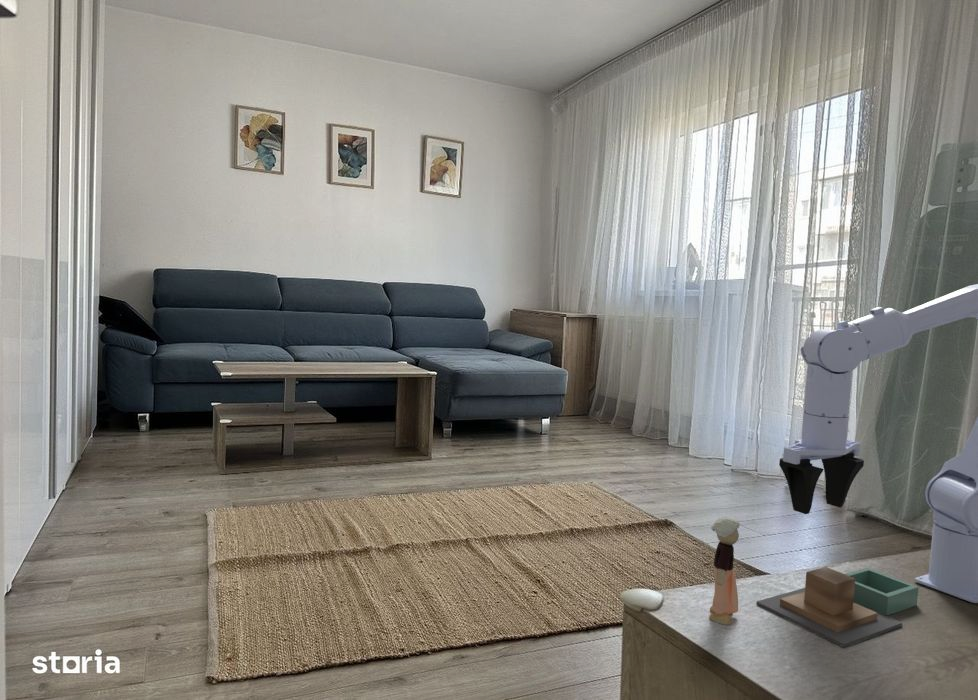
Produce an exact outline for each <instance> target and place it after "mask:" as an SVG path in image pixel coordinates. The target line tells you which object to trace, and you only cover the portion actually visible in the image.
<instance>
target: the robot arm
mask: <svg viewBox="0 0 978 700" xmlns="http://www.w3.org/2000/svg"><path fill="white" fill-rule="evenodd" d="M967 318H976V319H977V320H978V283H977V284H976V283H975V284H972V285H968V286H965V287H963V288H960V289H958V290H955V291H952V292H950V293H947V294H945V295H943V296H939V297H937V298H935V299H932V300H930V301H928V302H925V303H923V304H921V305H917V306H915V307H913V308H910V309H907V310H906V311H903V312H902V311H899V310H897V309H894V308H891V307H887V308H884V307H881V306H877V307H874V308H871V309H869V314H868V315H865V316H863V317H858V318H857V319H854V320H851V321H847V320H841V321H838V322H837V323H836V327H835V329H829V328H823V329H822V328H821V329H817V330H814V331H813V332H811V333H810V334H809V336H807V337H806V339H805V341H804V344H803V346H801V347H800V354H801V358H802V359H803V361H804V363H805V364H806V368H807V369H806V376H805V377H806V379H805V389H804V398H803V399H804V400H803V401H804V402H803V414H802V415H803V417H802V425H801V426H802V428H801V438H800V439H798V438H797V439H795V440H794V444H793V445H790V446H786V447H783V457H780V458H779V463H778V465H779V467H780V469H781V471H782V473H783V475H784V478H785V479H786V483H787V485H788V490H789V494H790V499H791V505H792V509H793V511H795V512H797V513H801V514H803V515H809V514H810V512H811V510H812V506H813V499H814V493H815V489H816V487H817V484H818V481H819V479H820V476H821V475H822V473H823V472H824V477H825V478H824V479H825V501H826V504H827V505H829V506H833V507H837V508H843V506H844V504H845V502H846V498H847V495H848V493H849V491H850V488H851V486H852V483H853V482H854V480H855V478H856V477H857V475H858V474H859V472H860V471H861V470H862V469H863V467H864V465H865V463H864V462H865V460H864V459H861V458H859V456H860V451H861V442H858V441H853V440H849V439H848V429H849V415H850V406H851V405H850V403H851V393H852V392H851V391H852V380H853V379H852V378H853V371H854V370H855V369H856V368H858V367H859V366H860V365H861V362H864V361H867V360H870V359H872V358H876V357H878V356H881V355H884V354H887V353H890V352H892V351H895V350H898V349H902V348H904V347H906V346H907V345H909V343H910V341H911V339H912V337H913V335H914V334H917V333H921V332H924V331H926V330H929V329H930V330H931V329H933V328H936V327H940V326H942V325H947V324H949V323H954V322H956V321H960V320H963V319H967ZM816 460H817V461H818V460H821V463H822V467H823V468H822V467H818V466H814V465H813V463H811V461H816ZM924 492H925V493H924V494H925V496H924V498H925V500H926V503H927V505H928V506H929V507H930V508H931V510H932V511H933V512H932V518H933V524H932V535H931V544H930V555H929V565H928V573H926V574H923V575H921V576H917V577H915V578H914V581H915V583H918V584H921V585H924V586H925V587H930V588H932V589H935V590H938V591H940V592H942V593H945V594H948V595H951V596H953V597H956V598H959V599H962V600H965V601H966V602H969V603H972V604H978V416H977V417H976V419H975V422H974V425H973V427H972V429H971V430H970V433H969V435H968V438H967V439H966V442H965V444H964V445H963V449H962V451H961V453H960V454H958V455H956V456H954V457H952V458H950V459H948V460H946V461H945V462H944V464H943V465H942V468H941V470H940V471H939V472H938V473H937V474H936V475H935V476H933V477H932V478H931V479H930V480H929V481H928V483H927V485H926V488H925V491H924Z"/></svg>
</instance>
